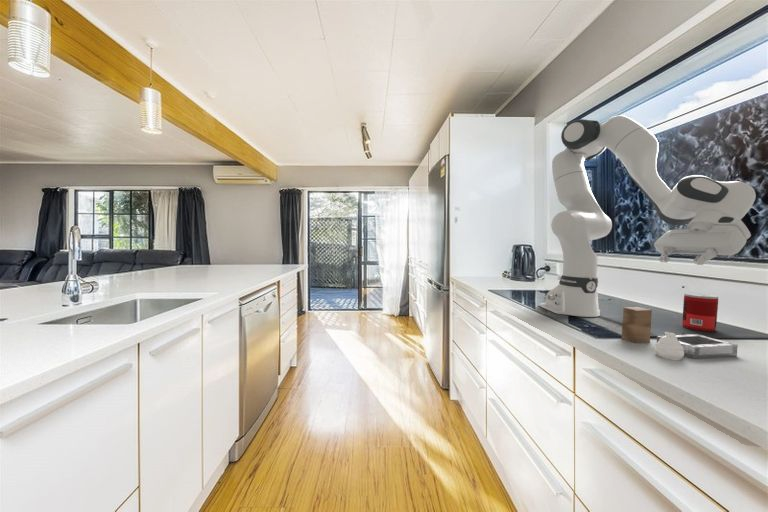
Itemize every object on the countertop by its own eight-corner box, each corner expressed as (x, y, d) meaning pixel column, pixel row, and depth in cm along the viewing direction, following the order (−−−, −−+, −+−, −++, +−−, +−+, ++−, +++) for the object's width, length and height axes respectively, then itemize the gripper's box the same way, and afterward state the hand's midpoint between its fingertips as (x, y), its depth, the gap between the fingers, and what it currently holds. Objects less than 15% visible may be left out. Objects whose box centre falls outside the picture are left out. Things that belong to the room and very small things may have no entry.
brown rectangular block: (621, 338, 94) (623, 307, 93) (636, 337, 95) (638, 306, 94) (634, 342, 90) (636, 310, 90) (649, 342, 91) (651, 310, 90)
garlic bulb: (677, 330, 81) (691, 336, 76) (675, 354, 82) (689, 362, 76) (651, 328, 83) (663, 334, 77) (649, 351, 83) (661, 359, 78)
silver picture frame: (656, 346, 87) (657, 336, 87) (696, 344, 89) (696, 334, 89) (693, 358, 78) (694, 347, 78) (736, 356, 81) (737, 344, 80)
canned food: (722, 332, 102) (725, 297, 101) (692, 330, 103) (695, 296, 103) (704, 326, 109) (706, 293, 109) (676, 324, 111) (678, 292, 110)
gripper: (665, 222, 104) (638, 252, 103) (746, 217, 84) (714, 255, 83) (676, 236, 105) (649, 266, 104) (759, 235, 85) (727, 273, 84)
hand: (678, 262), depth 93 cm, fingers open, 8 cm apart
